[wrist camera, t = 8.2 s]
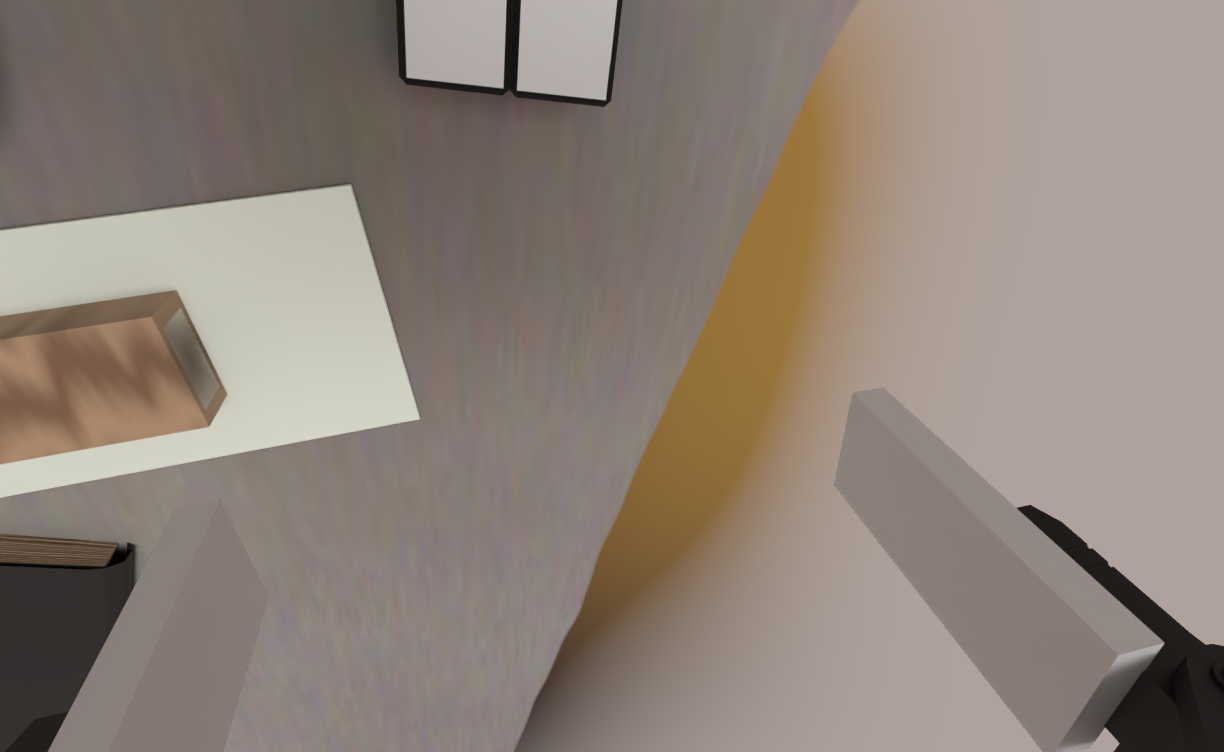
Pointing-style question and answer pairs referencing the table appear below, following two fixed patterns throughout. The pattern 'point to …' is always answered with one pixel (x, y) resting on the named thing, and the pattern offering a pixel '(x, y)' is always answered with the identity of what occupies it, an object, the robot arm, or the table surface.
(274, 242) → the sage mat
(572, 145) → the table surface
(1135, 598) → the robot arm
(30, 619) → the file folder
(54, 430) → the walnut block
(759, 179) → the table surface
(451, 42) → the puzzle cube
